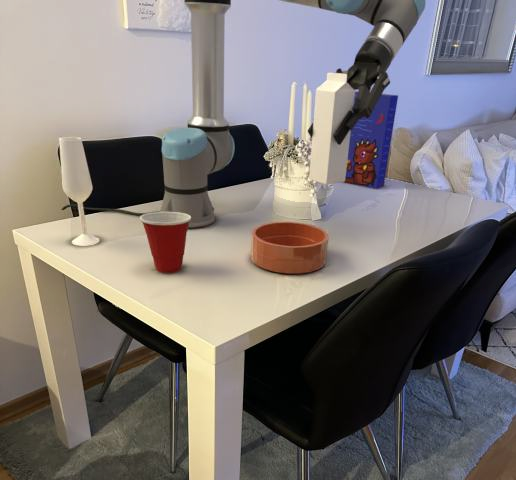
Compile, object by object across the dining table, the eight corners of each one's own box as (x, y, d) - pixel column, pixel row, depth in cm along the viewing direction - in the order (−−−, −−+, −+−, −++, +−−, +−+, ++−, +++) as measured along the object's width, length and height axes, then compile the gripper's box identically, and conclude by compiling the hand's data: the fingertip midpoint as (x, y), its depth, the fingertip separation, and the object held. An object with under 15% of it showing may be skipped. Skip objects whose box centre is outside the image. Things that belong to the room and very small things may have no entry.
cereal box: (383, 185, 184) (398, 94, 168) (376, 188, 180) (390, 95, 164) (332, 175, 195) (341, 89, 179) (324, 178, 191) (332, 90, 175)
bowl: (258, 276, 110) (259, 248, 107) (246, 248, 125) (246, 222, 122) (335, 273, 113) (338, 246, 110) (314, 245, 128) (316, 220, 125)
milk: (326, 185, 114) (336, 74, 102) (308, 179, 118) (316, 72, 106) (345, 181, 117) (357, 73, 105) (327, 176, 121) (337, 71, 109)
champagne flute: (97, 235, 129) (83, 135, 117) (102, 243, 124) (88, 140, 112) (70, 238, 127) (52, 136, 114) (73, 247, 122) (56, 141, 109)
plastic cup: (194, 259, 118) (193, 208, 112) (191, 278, 109) (189, 223, 102) (148, 258, 117) (143, 207, 111) (140, 277, 108) (135, 222, 102)
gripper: (420, 68, 109) (365, 156, 108) (348, 63, 121) (297, 142, 119) (412, 39, 103) (353, 132, 102) (336, 37, 115) (283, 120, 113)
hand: (323, 137), depth 111 cm, fingers closed on milk, 7 cm apart
